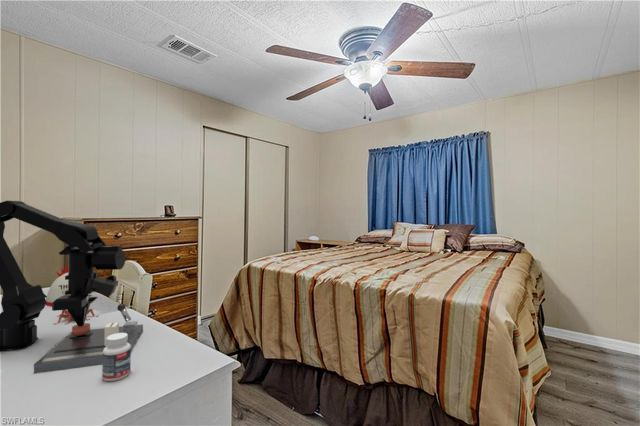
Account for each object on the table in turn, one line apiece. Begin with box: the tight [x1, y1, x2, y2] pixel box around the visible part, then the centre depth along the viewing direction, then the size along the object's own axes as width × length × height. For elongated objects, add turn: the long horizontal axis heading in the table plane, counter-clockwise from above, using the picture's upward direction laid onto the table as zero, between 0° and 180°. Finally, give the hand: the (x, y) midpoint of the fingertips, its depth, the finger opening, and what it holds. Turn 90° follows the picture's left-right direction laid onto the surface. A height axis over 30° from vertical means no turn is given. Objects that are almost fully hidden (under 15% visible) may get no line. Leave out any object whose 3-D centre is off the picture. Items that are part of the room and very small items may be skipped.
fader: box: [104, 322, 120, 346], centre depth 80 cm, size 2×3×5 cm
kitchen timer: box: [45, 264, 68, 307], centre depth 124 cm, size 14×14×15 cm
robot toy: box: [52, 285, 99, 326], centre depth 106 cm, size 15×12×13 cm
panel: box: [33, 320, 144, 374], centre depth 82 cm, size 18×20×4 cm
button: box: [71, 322, 91, 336], centre depth 86 cm, size 4×4×2 cm
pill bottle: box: [101, 333, 132, 382], centre depth 69 cm, size 5×5×9 cm
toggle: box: [116, 303, 132, 323], centre depth 89 cm, size 2×2×5 cm
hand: (81, 325), depth 86 cm, fingers closed
